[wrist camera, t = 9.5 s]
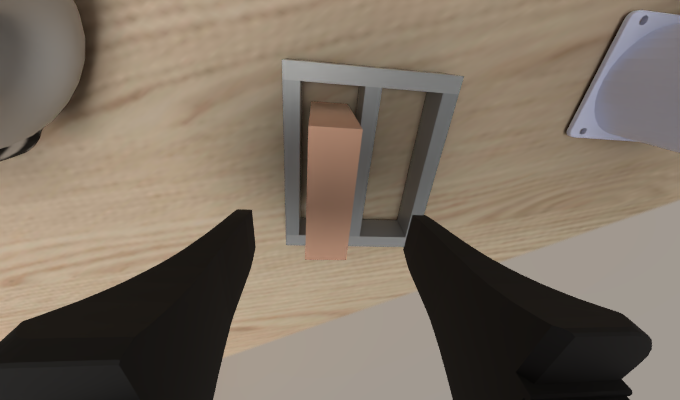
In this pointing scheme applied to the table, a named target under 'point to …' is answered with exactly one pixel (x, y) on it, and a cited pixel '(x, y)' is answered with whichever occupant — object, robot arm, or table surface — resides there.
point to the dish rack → (368, 142)
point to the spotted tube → (19, 147)
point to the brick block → (331, 179)
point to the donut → (37, 64)
